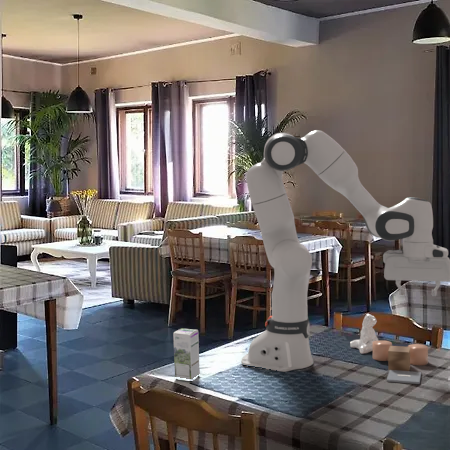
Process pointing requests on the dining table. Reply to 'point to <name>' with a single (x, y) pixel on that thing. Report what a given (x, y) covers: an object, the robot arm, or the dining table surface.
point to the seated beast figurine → (366, 335)
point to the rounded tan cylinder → (381, 350)
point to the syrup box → (186, 353)
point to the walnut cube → (399, 358)
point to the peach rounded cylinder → (418, 354)
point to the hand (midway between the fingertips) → (417, 295)
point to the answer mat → (404, 376)
